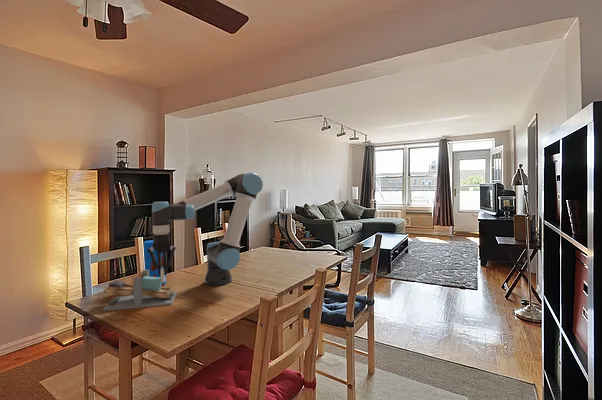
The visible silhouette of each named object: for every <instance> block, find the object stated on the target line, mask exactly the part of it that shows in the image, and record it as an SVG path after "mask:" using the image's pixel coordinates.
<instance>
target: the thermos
mask: <svg viewBox="0 0 602 400" xmlns="http://www.w3.org/2000/svg"><path fill="white" fill-rule="evenodd" d="M152 245H153V239H152V240H151V239H150V240H145V241H144V242H143V261H144V263H143V264H144V270H149V277H161V275H158V268H154V266H153V262H152V259H151V256H150V253H149V252H148V251H147V250H148V249H149V248H151V247H152ZM153 250H154V248H153ZM153 252H154V255H155V258H156V261H157V265H158V256H157V252H156V251H155V250H154V251H153ZM161 262H162V267H161V268H164V264H163V253H161ZM166 284H167V275H165V282H162V284H161V286H162V287H165V286H166Z"/></svg>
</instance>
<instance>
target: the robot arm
mask: <svg viewBox="0 0 602 400" xmlns="http://www.w3.org/2000/svg"><path fill="white" fill-rule="evenodd" d="M263 186H264V182H263V180H262V178H261V176H260V175H259V174H258V173H255V172H247V173H240V174H238V175H236V176H233V177H231V178H229V179H227V180H225V181H224V183H222V184H221V185H217V186H215V187H213V188H210V189H208V190H205V191H203V192H201V193H198V194H196V195H193V196H190V197H189V198H186V199H184V200H182V201H181V200H180V201H179V202H177V203H172V204H169V202H168V201H153V202H152V204H151V215H152V216H151V217H152V220H151V221H152V240H153V245H152V247H151V248H149V249H148V250H147V251H148V252H149V253H150V256H151V259H152V262H153V266H154V268H158V275H161V283H162V282H165V275H166V276H167V275H168V269H169V268H170V267H171V266H172V264H173V263H172V262H173V258H174V254H175V251H176V249H177V247H176V246H174V245H172V243H171V235H170V234H171V233H170V232H171V230H170V227H171V226H170V221H183V220H184V221H189V220H193V219H194V218H195V216H196V215H195V214H196V211H197V210H200V209H202V208H204V207H206V206H209V205H211V204H213V203H216V202H217V201H220V200H223V199H225V198H227V197H229V196H230V197H234V196H236V199H235V202H234V205H233V209H232V211H231V214H230V217H229V221H228V223H227V227H226V230H225V233H224V237H223V238H222V239H221V240H219V241H216V242H215V241H214V242H209V243H207V245H206V258H207V262H206V264H207V265H206V266H207V270H206V274H205V276H204V285H206V286H207V285H208V286H222V285H226V284H229V283H231V282H232V281H233V276H232V274H231V270H233V269H235V268H236V267H237V266H239V263H240V260H241V255H240V250H241V245H240V240H241V237H242V234H243V232H244V231H243V230H244V228H245V225H246V222H247V217H248V215H249V212H250V209H251V205H252V202H254V201H255V200H256V199H257V196H258V194H260V193H261V192H262V190H263ZM153 248H154V250H155V251H156V252H157V256H158V265H157V261H156V258H155V255H154V252H153V251H154V250H153ZM169 250H170V252H169V256H168V251H169ZM161 253H163V264H164V268H161V267H162V262H161Z"/></svg>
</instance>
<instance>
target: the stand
mask: <svg viewBox="0 0 602 400" xmlns="http://www.w3.org/2000/svg"><path fill="white" fill-rule="evenodd" d="M141 272H148V276H149V270H145V269H143V270H141ZM138 277H139V278H136V277H133V281H132V282H133V283H132V284H134V295H120V296H119V295H118V296H115V297H114V298H113V299H112V300H111V301H109V302H108V303H107V304H106V305H105V306H104V307H103V308H102V311H103V312H107V311H106V310H108V311H117V310H129V309H141V308H150V307H162V306H172V304H173V302H174V301H175V299H176V297H177V295H178V291H172V292H171V294H170V296H169V297H168V298H160V297H147V296H142V289H141V276H138Z"/></svg>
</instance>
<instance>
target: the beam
mask: <svg viewBox="0 0 602 400" xmlns="http://www.w3.org/2000/svg"><path fill="white" fill-rule="evenodd" d="M145 276H148V272H142V271H141V273H140V276H135V278H139V277H141V287H142V281H143V278H144V277H145ZM171 292H173V288H171V286H170V287H169V286H162V287H161V290H160V291H156V290H143V289H142V296H147V297H160V298H168V297H169V296H170V294H171ZM103 294H110V295H120V296H130V295H134V284H133V283H126V282H125V281H124V280H115V279H113V280H112V281H110V282H109V284H108V287H106V288H105V289H103Z"/></svg>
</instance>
